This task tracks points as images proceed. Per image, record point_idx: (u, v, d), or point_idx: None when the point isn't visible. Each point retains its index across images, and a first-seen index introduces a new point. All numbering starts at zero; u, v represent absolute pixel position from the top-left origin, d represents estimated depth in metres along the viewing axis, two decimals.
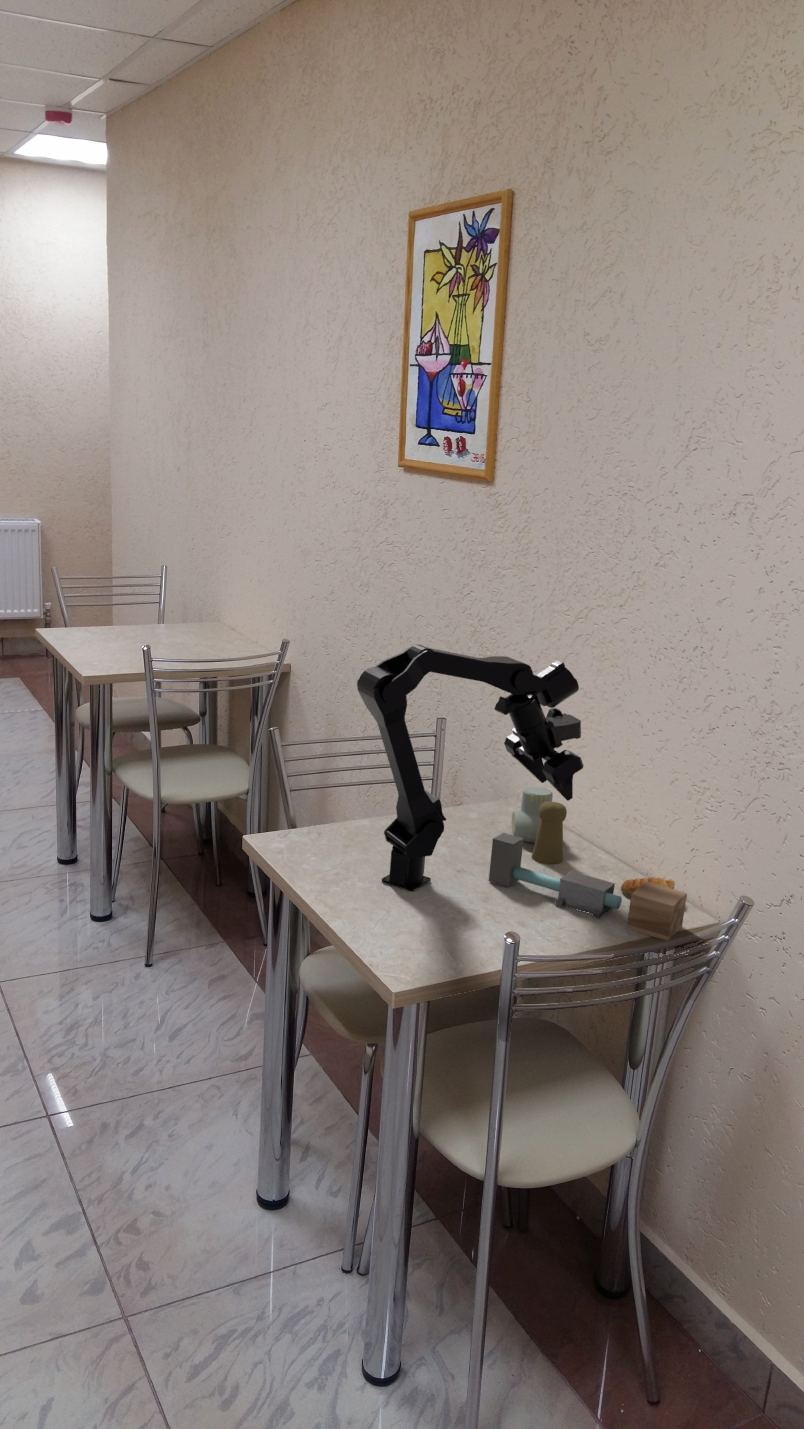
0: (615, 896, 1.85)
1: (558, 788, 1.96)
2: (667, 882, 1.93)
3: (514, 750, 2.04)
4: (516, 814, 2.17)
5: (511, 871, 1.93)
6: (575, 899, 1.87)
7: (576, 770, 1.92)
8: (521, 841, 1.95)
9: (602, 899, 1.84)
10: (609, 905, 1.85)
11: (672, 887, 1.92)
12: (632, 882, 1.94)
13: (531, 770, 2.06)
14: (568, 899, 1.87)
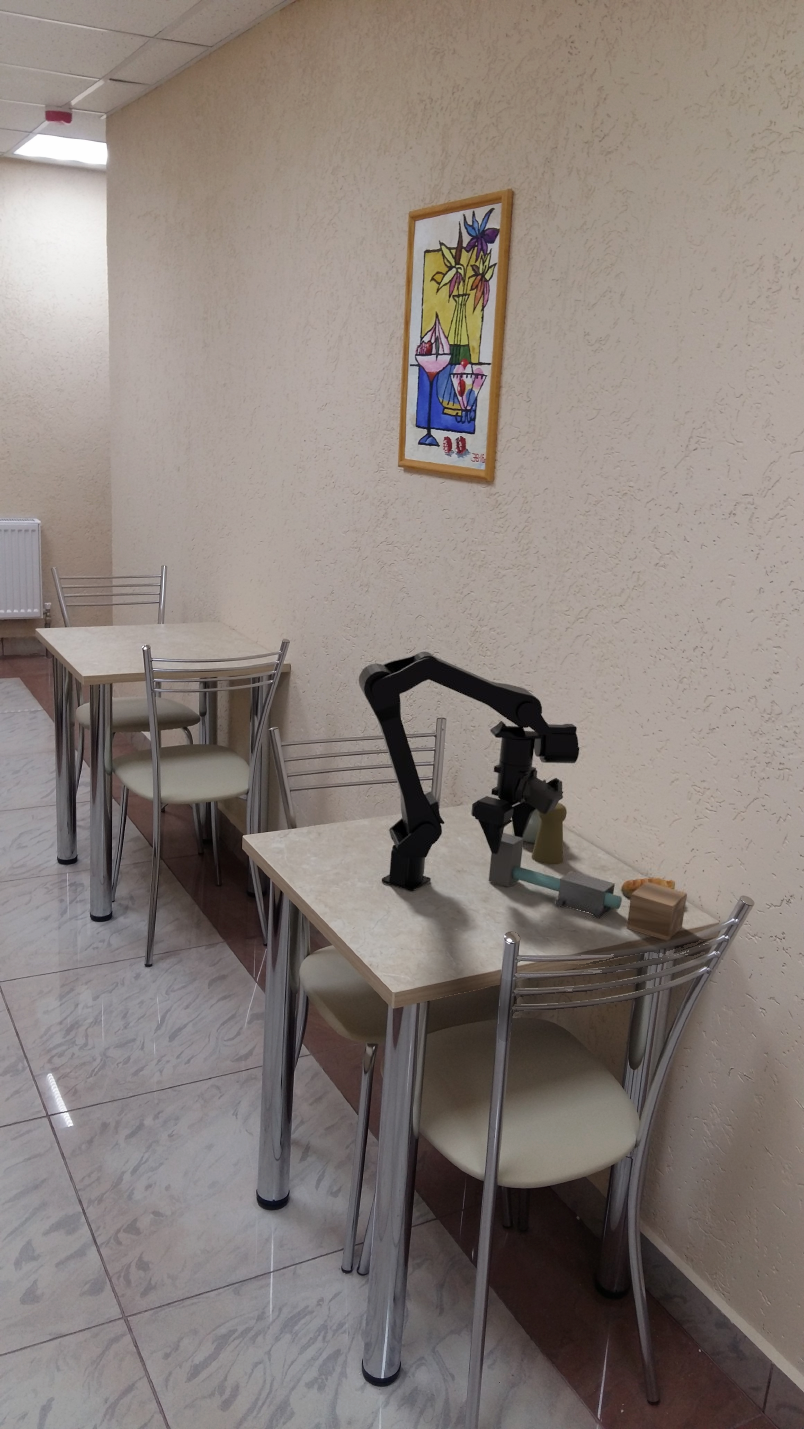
0: (615, 896, 1.85)
1: (483, 829, 1.90)
2: (667, 882, 1.93)
3: None
4: None
5: (511, 871, 1.93)
6: (575, 899, 1.87)
7: (492, 819, 1.84)
8: (521, 841, 1.95)
9: (602, 899, 1.84)
10: (609, 905, 1.85)
11: (673, 887, 1.91)
12: (632, 882, 1.94)
13: (513, 818, 1.98)
14: (568, 899, 1.87)
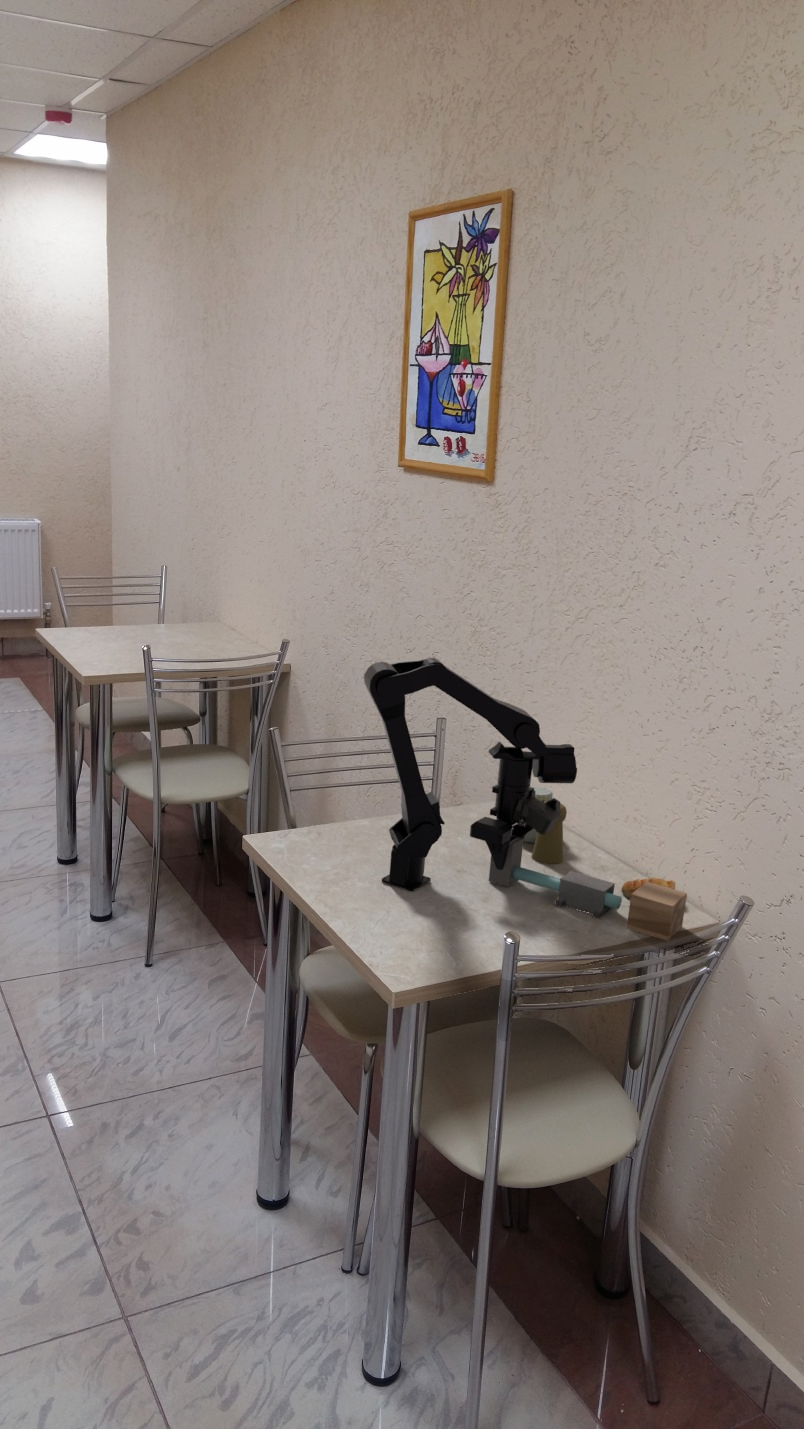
0: (615, 896, 1.85)
1: (488, 846, 1.92)
2: (668, 883, 1.93)
3: None
4: None
5: (511, 871, 1.93)
6: (575, 899, 1.87)
7: (491, 840, 1.85)
8: (521, 841, 1.95)
9: (602, 899, 1.84)
10: (609, 905, 1.85)
11: (673, 888, 1.91)
12: (633, 883, 1.94)
13: None
14: (568, 899, 1.87)
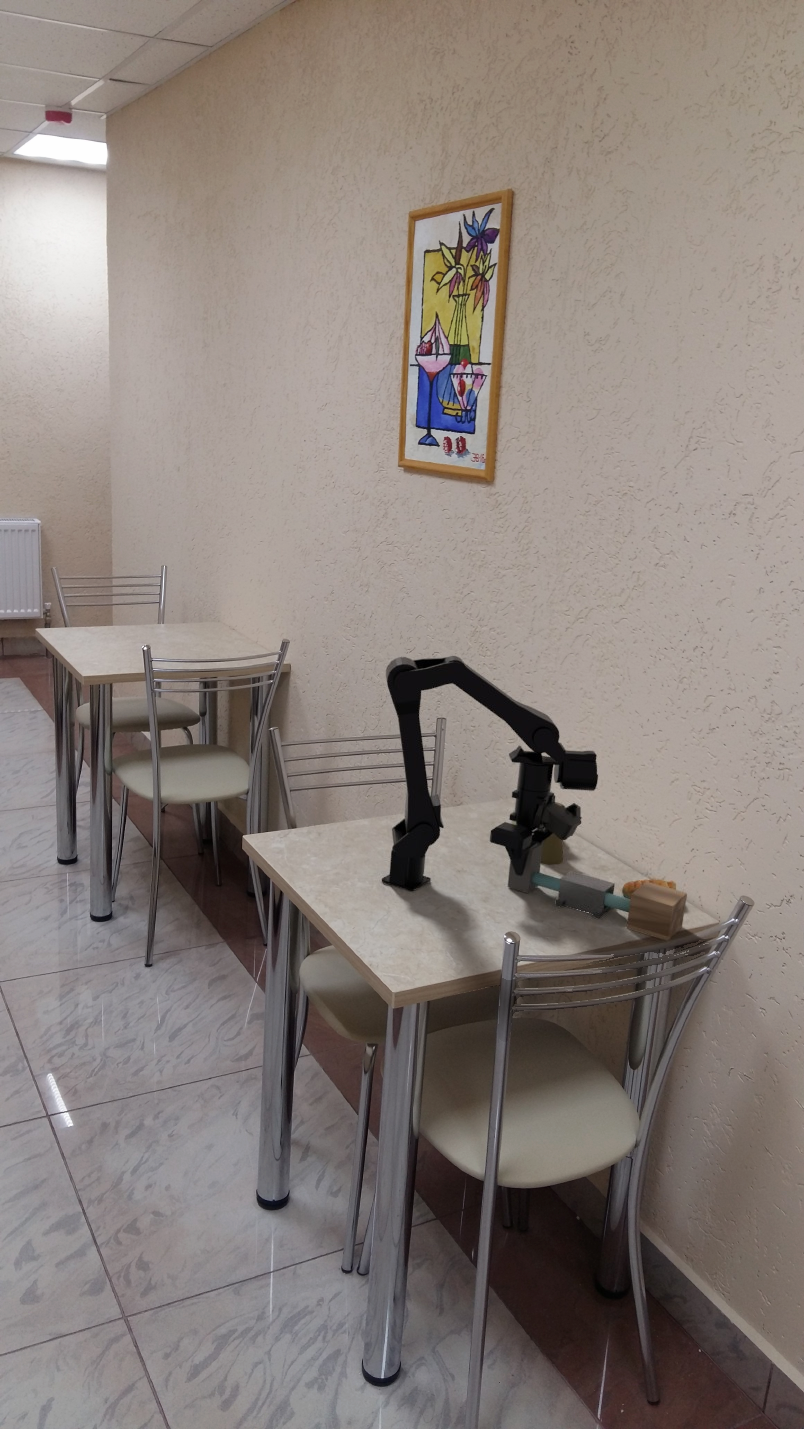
0: None
1: (508, 851, 1.91)
2: (668, 883, 1.93)
3: None
4: None
5: (530, 877, 1.91)
6: (575, 899, 1.87)
7: (511, 846, 1.83)
8: (541, 846, 1.93)
9: (602, 899, 1.84)
10: None
11: (674, 889, 1.91)
12: (633, 884, 1.93)
13: None
14: (568, 899, 1.87)
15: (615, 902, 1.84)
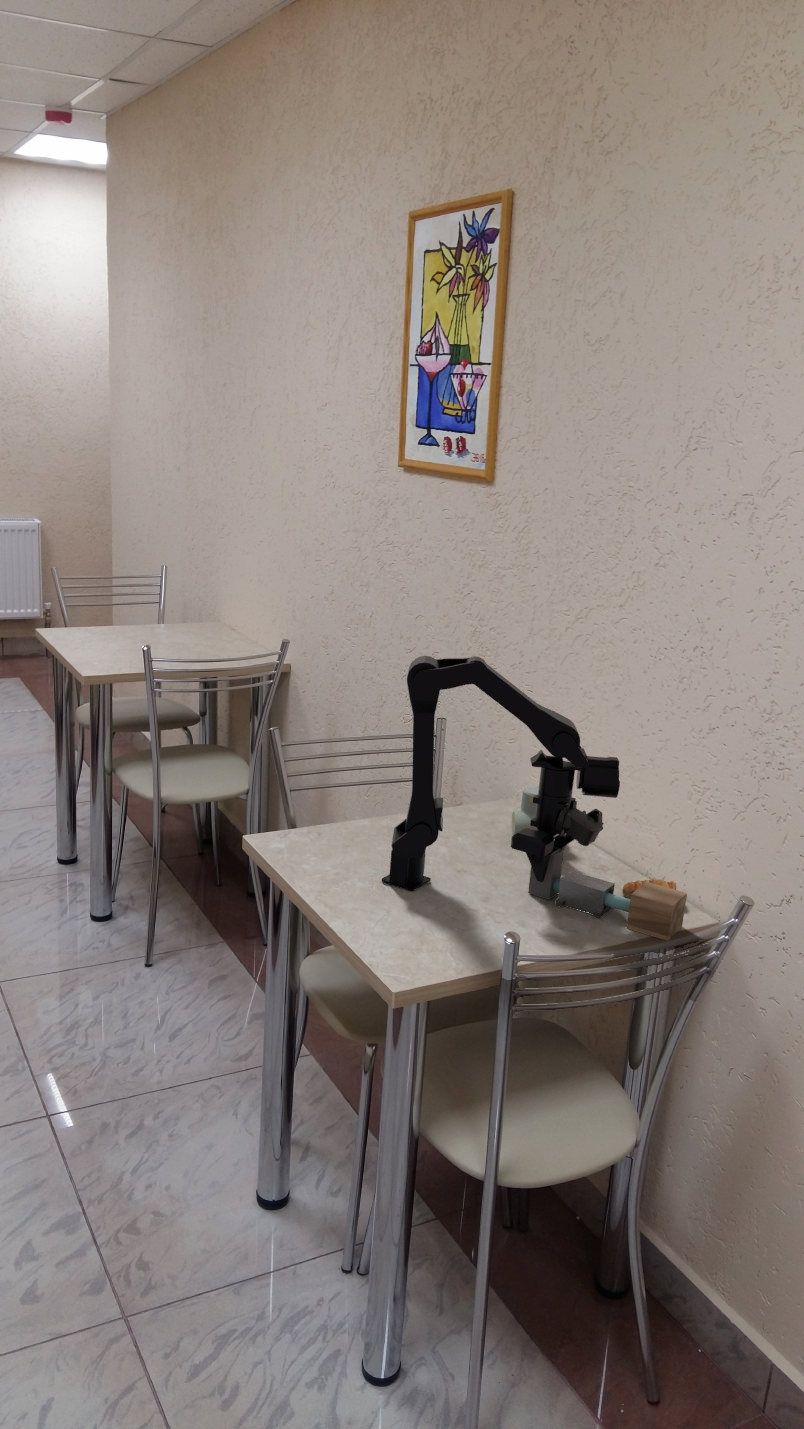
0: None
1: (529, 857, 1.88)
2: (669, 884, 1.93)
3: None
4: (516, 814, 2.17)
5: (552, 883, 1.89)
6: (575, 899, 1.87)
7: (533, 852, 1.81)
8: (562, 852, 1.91)
9: (602, 899, 1.84)
10: None
11: (674, 889, 1.91)
12: (634, 884, 1.93)
13: None
14: (568, 899, 1.87)
15: None
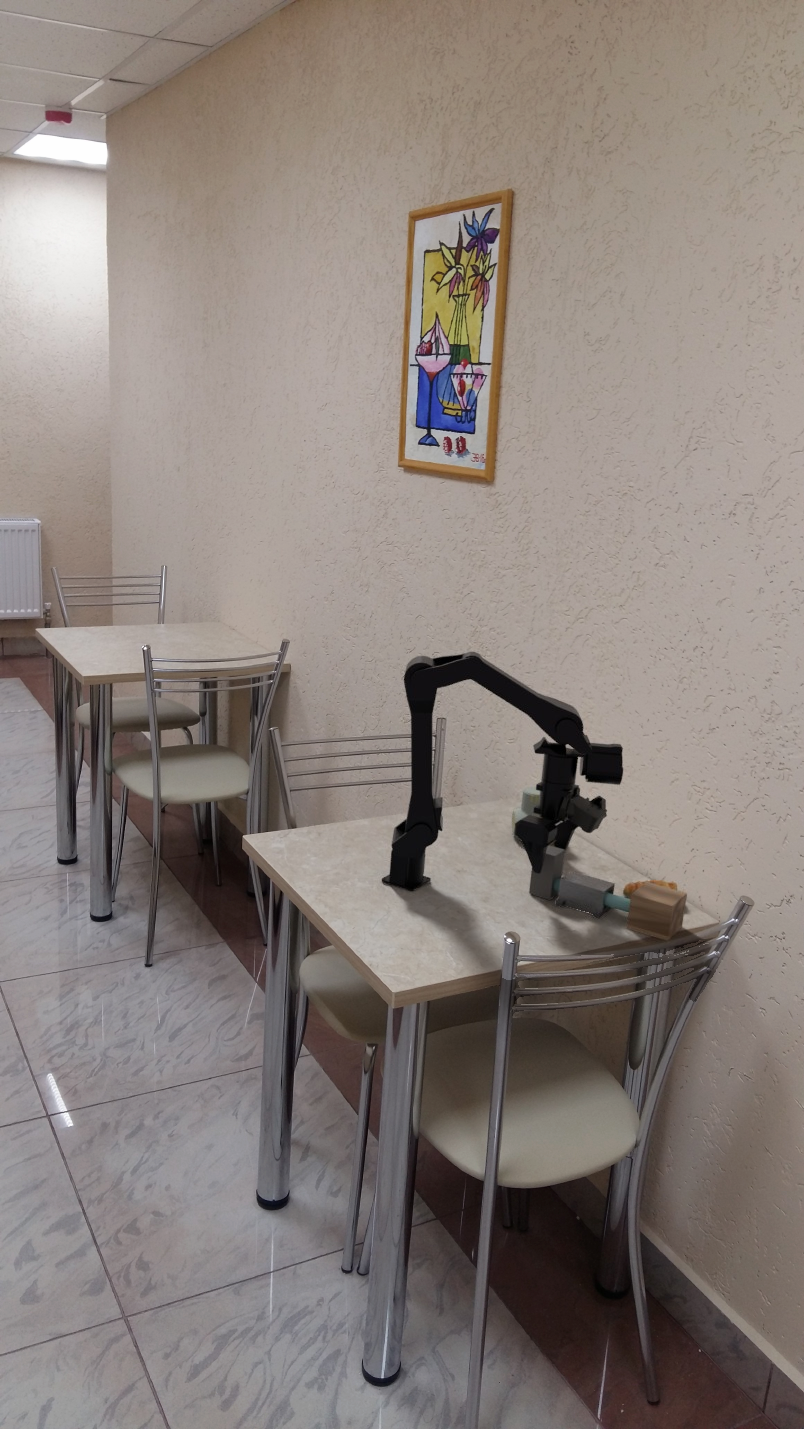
0: None
1: (526, 848, 1.86)
2: (670, 884, 1.92)
3: None
4: (516, 814, 2.17)
5: (552, 883, 1.89)
6: (575, 899, 1.87)
7: (536, 839, 1.81)
8: (563, 852, 1.91)
9: (602, 899, 1.84)
10: None
11: (675, 889, 1.91)
12: (635, 885, 1.93)
13: (554, 836, 1.95)
14: (568, 899, 1.87)
15: None
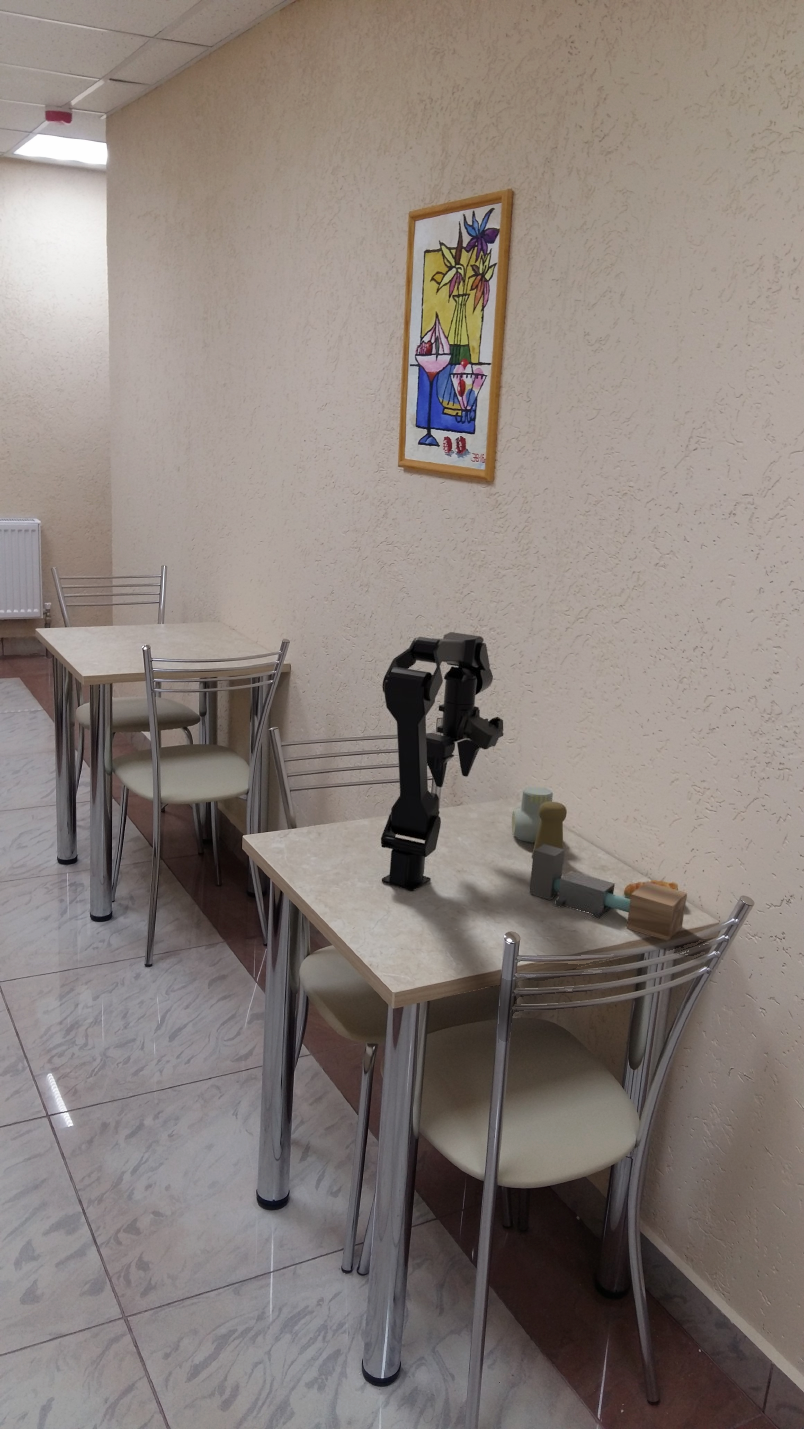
0: None
1: (428, 764, 2.03)
2: (670, 885, 1.92)
3: None
4: (516, 814, 2.17)
5: (552, 883, 1.89)
6: (575, 899, 1.87)
7: (434, 753, 1.98)
8: (563, 852, 1.91)
9: (602, 899, 1.84)
10: None
11: None
12: (635, 886, 1.92)
13: (460, 756, 2.12)
14: (568, 899, 1.87)
15: None
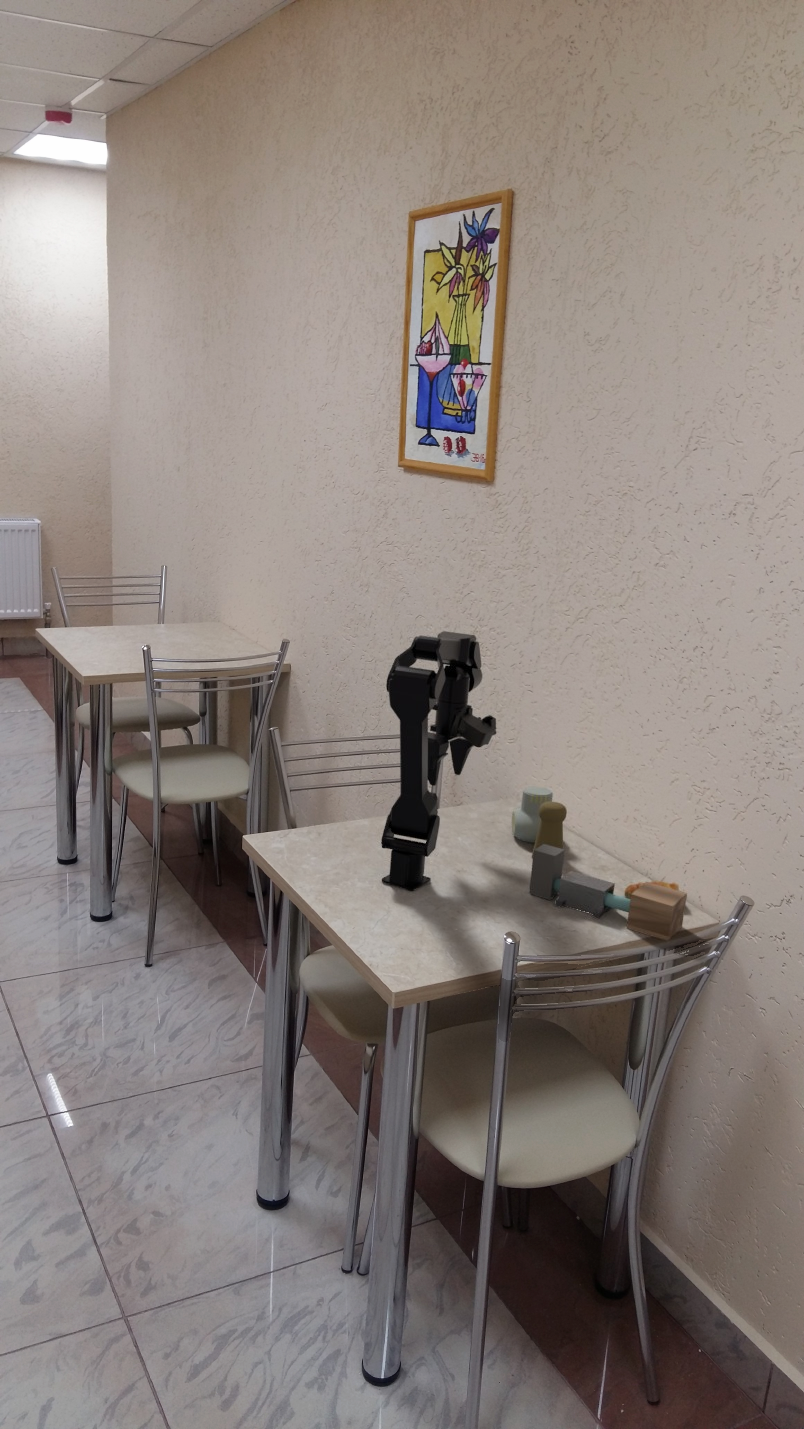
0: None
1: None
2: (671, 886, 1.92)
3: None
4: (516, 814, 2.17)
5: (552, 883, 1.89)
6: (575, 899, 1.87)
7: (429, 751, 1.99)
8: (563, 852, 1.91)
9: (602, 899, 1.84)
10: None
11: None
12: (636, 887, 1.92)
13: (452, 755, 2.13)
14: (568, 899, 1.87)
15: None
